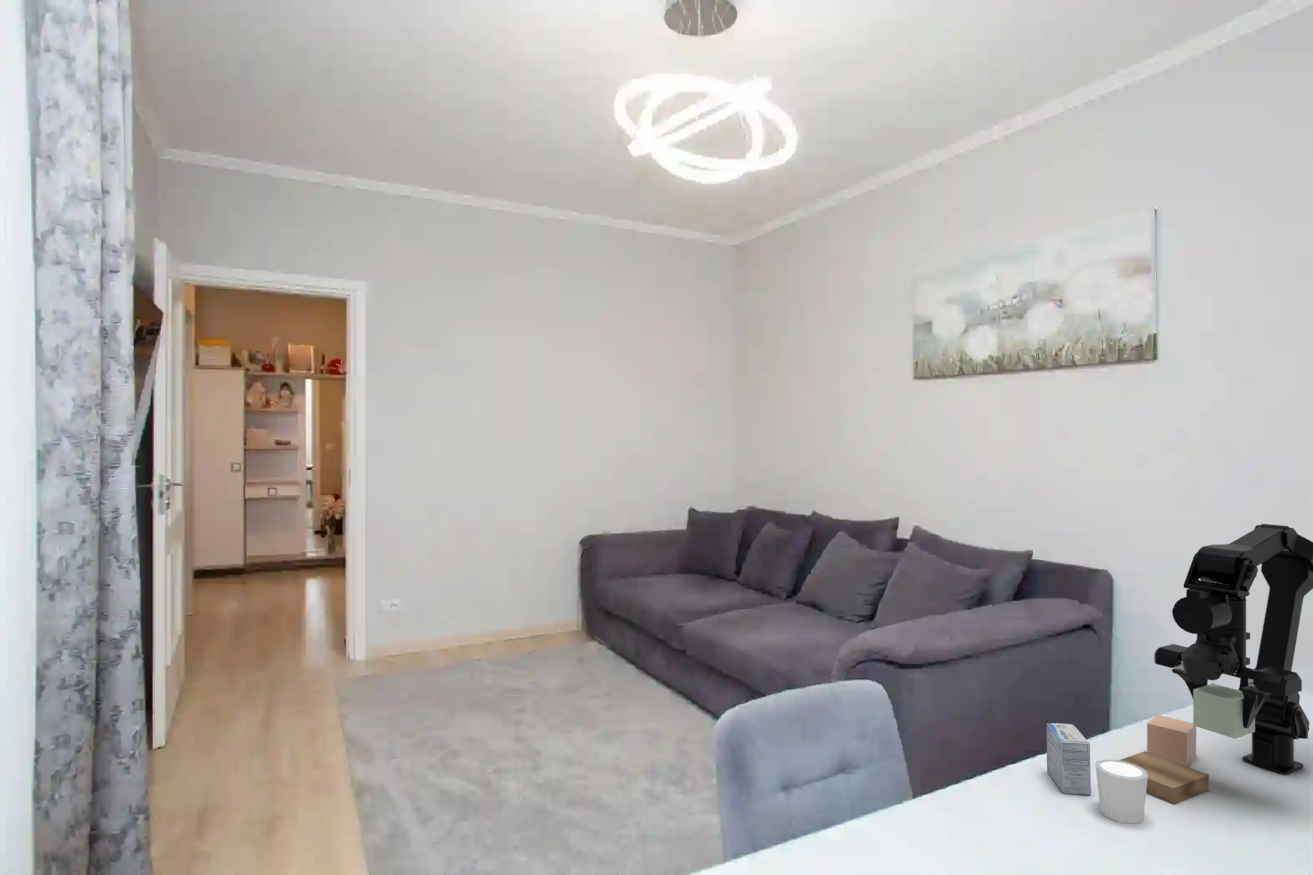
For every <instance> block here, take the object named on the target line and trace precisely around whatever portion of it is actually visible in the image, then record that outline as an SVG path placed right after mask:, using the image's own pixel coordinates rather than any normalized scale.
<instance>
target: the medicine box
mask: <svg viewBox="0 0 1313 875" xmlns="http://www.w3.org/2000/svg"><path fill="white" fill-rule="evenodd" d="M1046 769H1047V770H1046V771H1047V773H1048V775H1049V776H1050V777H1051V779H1052V780H1053V782H1054V783H1055V784H1056V786H1057V787H1058V788H1059V789H1060V791H1061V793H1062V794H1069V795H1080V796H1081V795H1083V796H1084V795H1085V796H1090V795H1091V794H1092V788H1091V787H1092V785H1091V782H1092V781H1091V779H1092V777H1091V743H1090V742H1089V741H1088V740H1087V738H1086V737H1084V735H1083V734H1082V733H1081V732H1080V731H1079V729H1078V728H1077V727H1076V726H1075V725H1074V724H1070V723H1059V722H1058V723H1057V722H1053V723H1052V722H1051V723H1049V722H1047V723H1046Z"/></svg>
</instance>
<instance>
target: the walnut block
mask: <svg viewBox="0 0 1313 875" xmlns="http://www.w3.org/2000/svg"><path fill="white" fill-rule="evenodd" d="M1119 761H1124V762H1128V763H1131V764H1134V765H1136V766H1139V767H1141V768H1143V769H1144V770H1145V771H1146V772H1147V774H1148V779H1147V789H1146V795H1150V796H1152V797H1155V798H1157V799H1159V800H1162V801H1164V802H1167V803H1169V804H1172V805H1175V804H1177V803H1180V802H1182V801H1185V800H1187V799H1189V798H1192V797H1194V796H1197V795H1199V794H1202V793H1204V792H1207V791H1209V790H1210V788H1209V787H1210V782H1209V779H1210V776H1209V774H1207V773H1205V772H1203V771H1200V770H1197V769H1194V768H1192V767H1189V766H1188V767H1187V766H1184V765H1181V764H1178V763H1176V762H1173V761H1170V760H1167V759H1165V758H1162V757H1159V756H1157V755H1154V754H1151V753H1148V752H1147V750H1146V751H1142V752H1139V753H1136V754H1132V755H1131V756H1127V757H1125V758H1121V759H1119Z"/></svg>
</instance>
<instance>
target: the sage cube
mask: <svg viewBox="0 0 1313 875" xmlns="http://www.w3.org/2000/svg"><path fill="white" fill-rule="evenodd" d="M1192 701H1193V702H1192V703H1193V706H1192V707H1193V709H1192V711H1193V716H1192V718H1193V722H1192V723H1193V726H1196V728H1200V729H1203V730H1206V731H1209V732H1212V733H1216V734H1219V735H1221V736H1225V737H1228V738H1232V739H1235V740H1236V739H1238V738H1242V737H1243V736H1244V737H1245V736H1247V735H1250V734H1252V733H1253V732H1255V718H1254V720H1253V722H1252V724H1251V725H1250V727H1249V728H1244V727H1243V705H1244V695H1243V693H1242V691H1240V690H1239V689H1237V688H1236V689H1235V688H1231V687H1227V686H1223V685H1220V684H1216V683H1210V684H1207V685H1206V686H1203V687H1199V688H1196V689H1193V698H1192Z"/></svg>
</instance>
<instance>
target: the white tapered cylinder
mask: <svg viewBox="0 0 1313 875" xmlns="http://www.w3.org/2000/svg"><path fill="white" fill-rule="evenodd" d="M1119 760H1120V759H1119ZM1119 760H1118V759H1101V760H1098V761H1097V762H1095V771H1096V781H1097V782H1096V783H1097V789H1098V790H1097V791H1098V792H1097V793H1098V800H1099V802H1098V803H1099V810H1100V813H1102V815H1103V816H1105V817H1107V818H1108V819H1110V820H1113V821H1115V822H1119V823H1124V824H1132V825H1134V824H1140V823H1142V822H1143V821H1144V816H1145V806H1146V796H1147V793H1146V789H1147V779H1148V774H1147V772H1146V771H1145V770H1144V769H1143V768H1141V767H1139V766H1136V765H1134V764H1131V763H1128V762H1124V761H1119Z"/></svg>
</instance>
